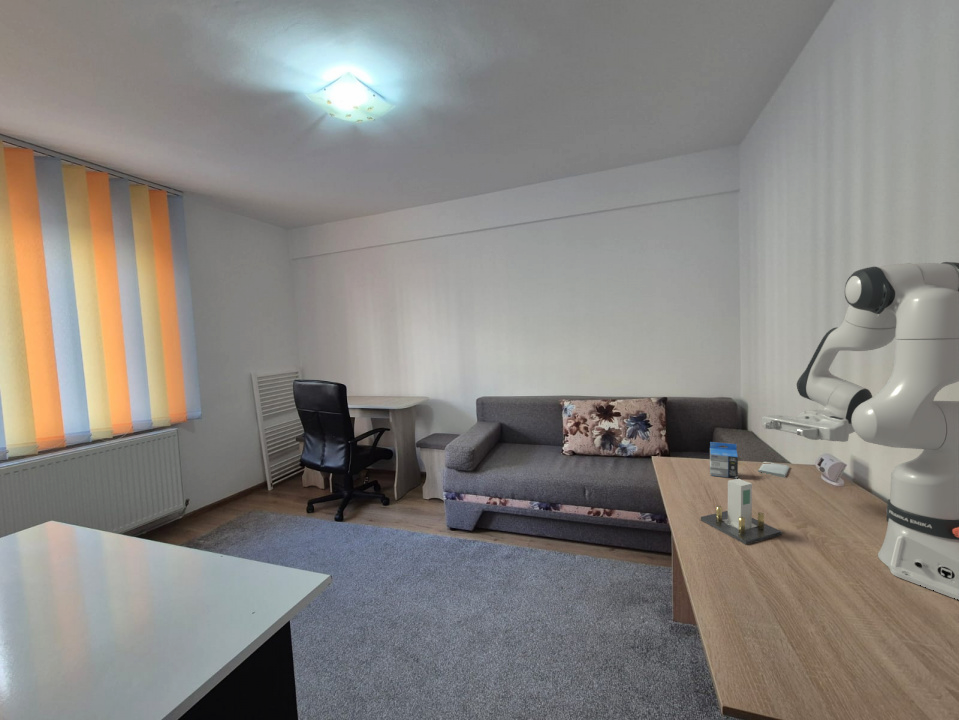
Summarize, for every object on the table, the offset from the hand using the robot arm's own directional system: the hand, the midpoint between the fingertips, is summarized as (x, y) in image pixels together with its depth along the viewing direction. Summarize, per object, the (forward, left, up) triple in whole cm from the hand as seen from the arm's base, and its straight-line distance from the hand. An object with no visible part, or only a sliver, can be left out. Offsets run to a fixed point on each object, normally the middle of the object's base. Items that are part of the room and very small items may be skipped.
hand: (782, 429), depth 114 cm
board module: (-2, +18, -25) cm, 31 cm away
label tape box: (+28, -11, -26) cm, 40 cm away
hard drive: (+25, -32, -27) cm, 49 cm away
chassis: (-2, +18, -26) cm, 32 cm away
